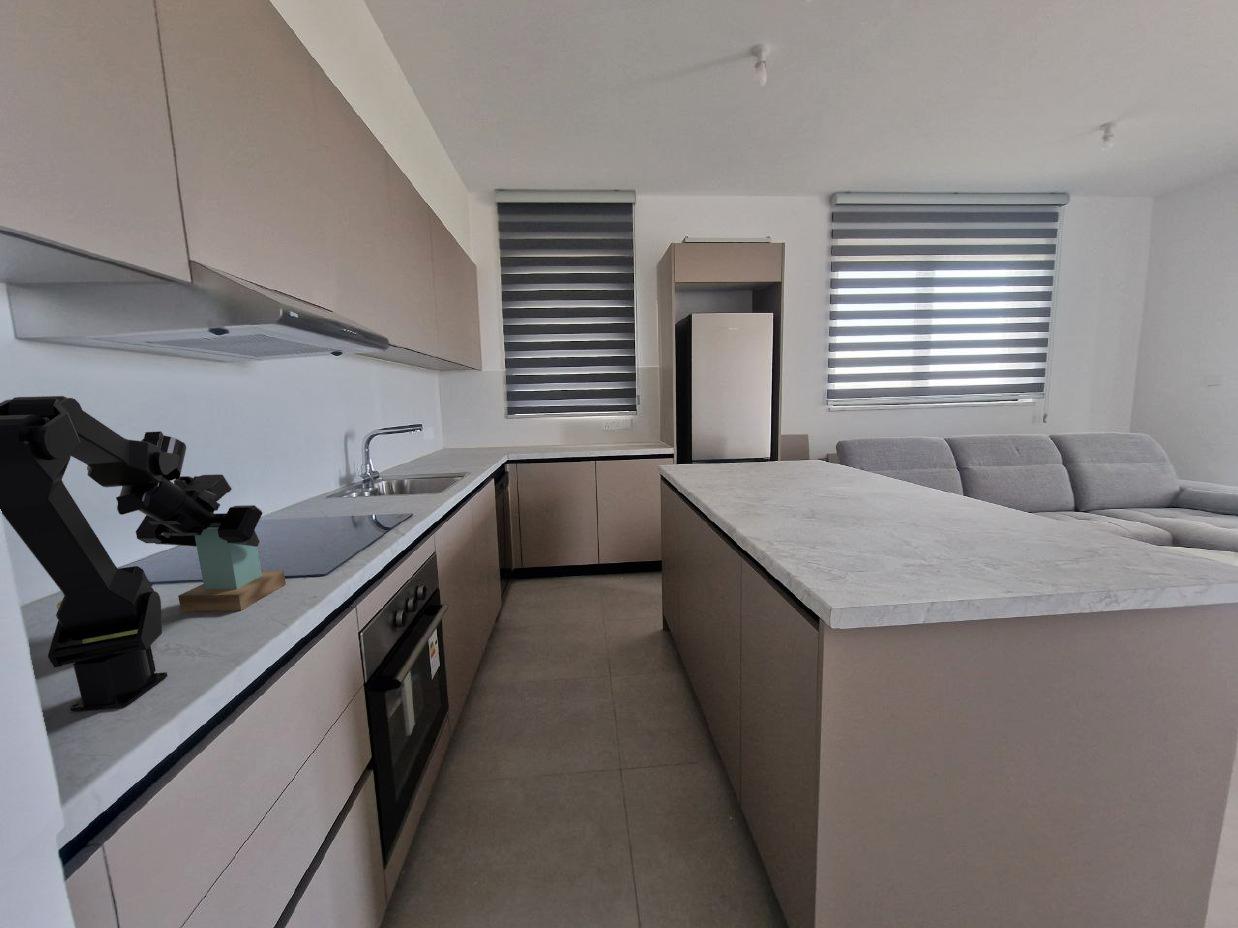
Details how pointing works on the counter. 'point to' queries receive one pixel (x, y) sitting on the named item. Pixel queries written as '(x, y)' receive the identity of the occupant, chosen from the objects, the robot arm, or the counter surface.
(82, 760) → the counter surface
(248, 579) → the tea tin
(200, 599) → the walnut block
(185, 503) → the robot arm
